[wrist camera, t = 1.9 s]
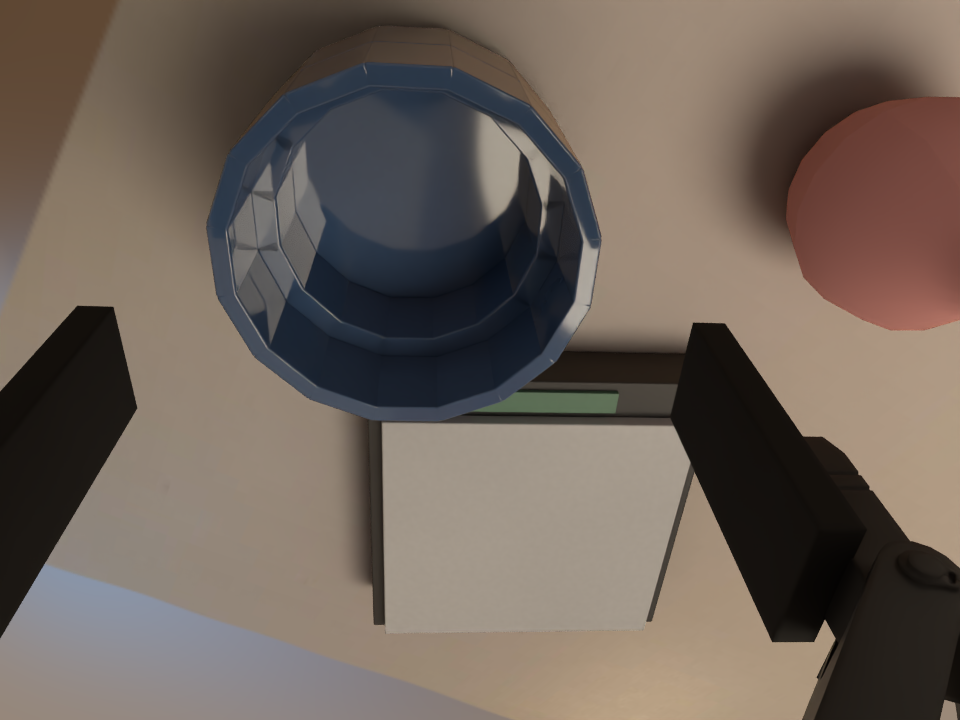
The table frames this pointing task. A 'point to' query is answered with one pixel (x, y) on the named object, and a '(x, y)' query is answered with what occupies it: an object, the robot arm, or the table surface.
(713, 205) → the table surface
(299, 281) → the blue bowl
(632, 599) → the scale
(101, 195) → the table surface
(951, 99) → the pink bud vase
